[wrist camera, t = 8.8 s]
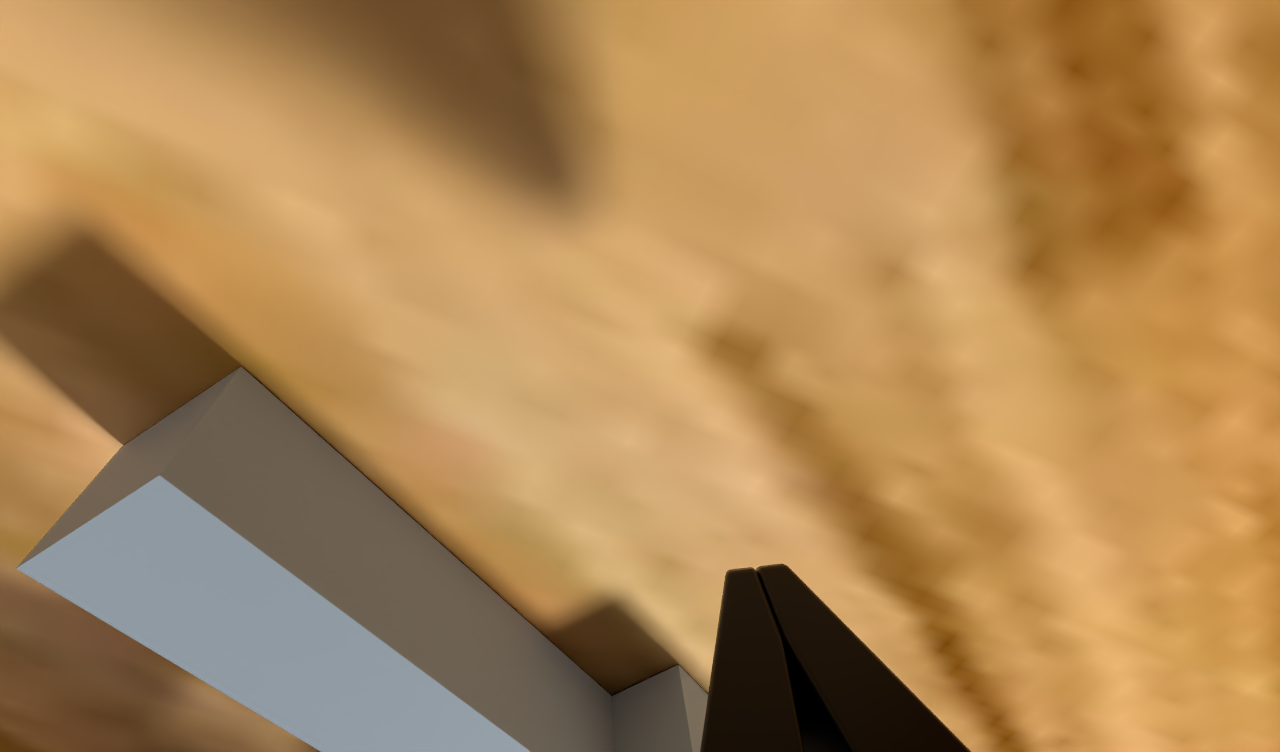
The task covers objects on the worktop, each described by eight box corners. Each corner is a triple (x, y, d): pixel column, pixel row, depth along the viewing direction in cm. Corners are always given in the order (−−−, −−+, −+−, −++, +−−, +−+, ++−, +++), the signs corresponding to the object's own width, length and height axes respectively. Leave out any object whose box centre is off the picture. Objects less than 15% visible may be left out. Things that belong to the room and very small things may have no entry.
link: (794, 782, 21) (826, 896, 19) (598, 864, 23) (604, 980, 20) (327, 308, 12) (265, 406, 10) (48, 496, 14) (-71, 625, 11)
